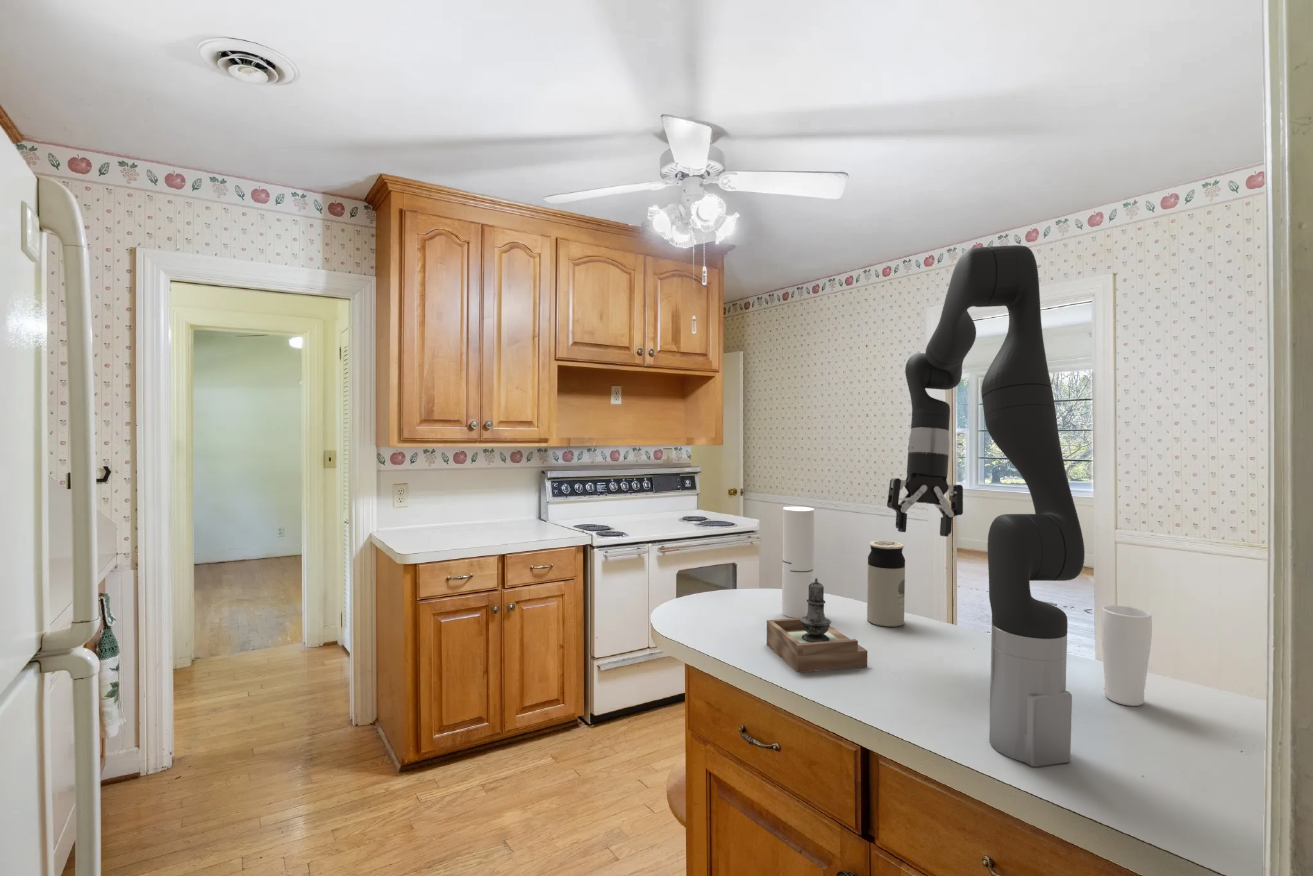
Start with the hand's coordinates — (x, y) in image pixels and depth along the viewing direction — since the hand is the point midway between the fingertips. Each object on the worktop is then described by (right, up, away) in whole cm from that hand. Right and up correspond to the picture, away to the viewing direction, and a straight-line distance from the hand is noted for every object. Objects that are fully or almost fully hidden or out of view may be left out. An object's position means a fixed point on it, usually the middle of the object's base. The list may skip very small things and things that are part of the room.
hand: (923, 534), depth 128 cm
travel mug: (0, -23, +20) cm, 31 cm away
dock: (-22, -24, -1) cm, 32 cm away
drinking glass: (+25, -25, -21) cm, 41 cm away
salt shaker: (-21, -21, -1) cm, 30 cm away
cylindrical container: (-19, -23, +26) cm, 40 cm away
